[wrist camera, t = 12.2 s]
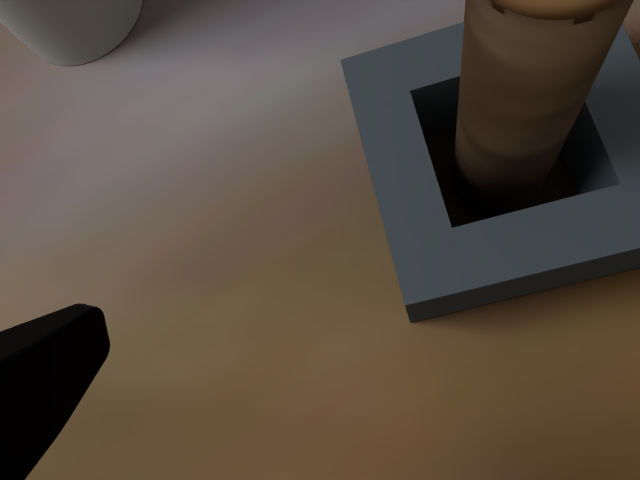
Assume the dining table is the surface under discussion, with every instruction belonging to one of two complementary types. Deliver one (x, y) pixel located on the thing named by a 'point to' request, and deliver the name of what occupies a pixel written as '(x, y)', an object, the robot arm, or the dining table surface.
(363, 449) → the dining table surface
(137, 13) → the cylindrical container
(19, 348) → the robot arm
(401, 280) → the hole block
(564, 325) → the dining table surface
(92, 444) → the dining table surface
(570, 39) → the tall walnut pin
